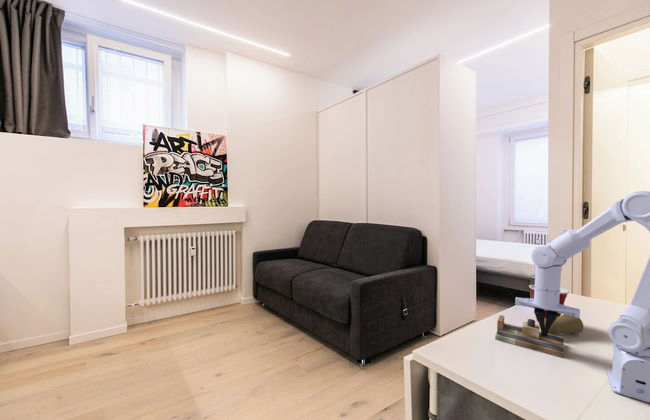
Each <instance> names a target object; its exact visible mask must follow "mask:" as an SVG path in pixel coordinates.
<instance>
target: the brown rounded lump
mask: <svg viewBox="0 0 650 420" xmlns="http://www.w3.org/2000/svg"><path fill="white" fill-rule="evenodd" d="M545 324H546V318H545V319H544V325H545ZM583 331H584V323H583V321H582V319H581V317H580V318H576V317H574V316H570V315H565V314H561V316H559V317H557V318H556V320H555V321H554V322H553V324H552V325H551V327H550V329H549V332H548V334H553V335H557V336H559V334H581V333H582V332H583Z"/></svg>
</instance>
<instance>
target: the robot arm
mask: <svg viewBox="0 0 650 420" xmlns="http://www.w3.org/2000/svg"><path fill="white" fill-rule="evenodd" d="M626 222H636V223H637V224H639V225H641V226H643V227H644V228H646V230H648V232H649V233H650V191H649V190H648V191H647V190H638V191H634V192H631V193H630V194H628V195H627V196H625V197H624V198H622V199H620V200H616V202H614V203H613V204H612V205H611V206H609V207H608V208H606V209H605V210H604V211H602V212H601V213H600V214H598V215H597V216H596V217H594V218H592V220H590V221H589V222H587V223H586V224H585V225H583V226H581V227H580V228H579V229H568V230H567V229H565V230H561V231H560V232H559V234H560V235H559V236H558V237H555V238H554V239H553V240H548V241H547V242H546V243H545V244H546V245H545V246H543V245H542V246H541V245H540V246H539V245H538V246H536V247H535V249H533V251H531V252H532V253H531V260H532V262H533V263H534V264H535V271H534V273H535V274H534V275H535V276H534V285H535V290H534V299H533V298H528V297H526V298H525V297H517V296H516V297H515V303H514V305H515V306H518V307H519V306H522V307H527V308H531V309H533V310H534V311H533V313H534V315H535V319H536V318H537V319H536V321H537V320H538V321H537V323H538V325H540V332H541V336H545V337H547V335H548V332H549V329H550V327H551V325H552V324H553V322H554V321H555V320H556V318H557V316H558V315H557V314H558V313H561V315H564V314H565V315H570V316H574V317H576V318H580V319H581V317H580V315H581V309H580V308H575V307H571V306H569V305H565V304H564V305H561V304H559V297H560V288H561V280H562V279H561V278H562V277H561V275H562V271H563V270H562V268H563V266H564V265H566V263H567V261H568V259H570V258H572V257H574V256H576V255H577V254H579V253H581V252H583V251H584V250H586V249H588V248H589V247H590V241H591V240H592V239H594V238H596V237H598V236H599V235H602V234H604V233H605V232H607V231H609V230H611V229H613V228H614V227H617V226H618V225H621V224H622V223H626ZM545 310H546V324H545V325H544V319H545ZM608 335H609V337H610V339H611V341H612V342H613V350H612V351H613V352H612V366H611V370H609V369H607V370H606V373H607V377H608V380H609V383H610V386H611V390H612V392H614V393H617V394H619V395H623V396H627V397H629V398H633V399H636V400H640V401H641V402H642V401H643V402H646V403H650V255H649V256H648V259H647V262H646V265H645V266H644V269H643V272H642V274H641V276H640V279H639V282H638V284H637V287H636V289H635V291H634V293H633V297H632V299H631V301H630V304H629V305H628V306H627V307H626V308H625V309H623V311H622V312H621V313H620V315H619V317H618V318H617V320H616V321H614V322H612V323H611V324H610V325H609V327H608Z"/></svg>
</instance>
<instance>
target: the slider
mask: <svg viewBox="0 0 650 420" xmlns="http://www.w3.org/2000/svg"><path fill="white" fill-rule="evenodd" d="M521 325H522V326H521V327H522V336H526V337H530V338H534V339H538V340H539V331H541V329H540V325H539V324H538V323H536V320H534V319H531V318H527V321H523V322H522V324H521Z"/></svg>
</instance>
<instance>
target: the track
mask: <svg viewBox="0 0 650 420" xmlns="http://www.w3.org/2000/svg"><path fill="white" fill-rule="evenodd" d="M496 325H497V327H496V328H497V329H496V333H495V334H494V335H495V336H494V339H495V340H497V341H500V342H504V343H508V344H512V345H515V346H519V347H521V348H522V347H523V348H525V349H526V348H527V349H530V350H534V351H538V352H540V353H545V354H548V355H552V356H555V357H559V358H563V359H565V341H564V340H565V338H564V337H563V336H561V335H553V334H548V335H547V337H545V336H541V330H539V340H538V339H534V338H530V337H526V336H522V326H519V325H515V324H511V323H506V322H505V315H499V317H498V319H497V324H496Z"/></svg>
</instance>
